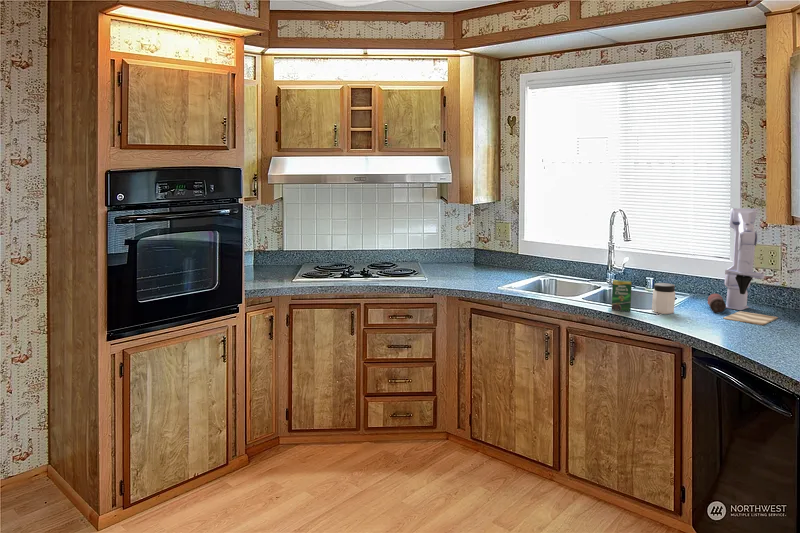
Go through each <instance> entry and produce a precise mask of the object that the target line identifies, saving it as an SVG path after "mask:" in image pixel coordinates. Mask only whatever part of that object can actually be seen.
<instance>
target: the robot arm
mask: <svg viewBox="0 0 800 533" xmlns="http://www.w3.org/2000/svg"><path fill="white" fill-rule="evenodd" d="M756 218H757V210H756V208H738V207H735V208H734V207H732V208H731V209H730V211H729V227H730V228H731V229H733V233H734V240H733V242H734V243H733V260H732V265H731V266H730V267H728V268H727V269H725V270H724V271H725V272H724V286H725V287H726V288H727V290H726V291H727V293H726V302H725V304H726V308H725V309H729V310H737V311H744V310H746V309H749V307H750V306H748V304H747V303H748V295H749V294H748V289H749V288H750V286H751V282H752V280H753V279H760V280H763V279H765V273H761V272H755V271H753V269H754V259H755V251H756V250H755V248H756V247H757V244H758V233H757V231H755V228H754V225H755V222H756Z"/></svg>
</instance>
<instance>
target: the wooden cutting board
mask: <svg viewBox="0 0 800 533" xmlns="http://www.w3.org/2000/svg"><path fill="white" fill-rule="evenodd" d="M778 318H779V317H778V316H773V315H766V314H761V313H754V312H749V311H744V310H738V311H737V312H734V313H732V314H729V315H726V316H723V319H724V320H728V321H729V320H730V321H734V322H739V321H740V322H739V323H745V322H746V323H745V324H752V325H757V326H764V325H767V324H768V323H771V322H773V321H775V320H778Z"/></svg>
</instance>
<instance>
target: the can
mask: <svg viewBox="0 0 800 533" xmlns="http://www.w3.org/2000/svg"><path fill="white" fill-rule="evenodd" d="M707 305H708V306H709V308H710V310H711V311H712V312H714V313H717V314H720V313H722V312H724V311H725V310H726V309H727V308H726V302H725V300H724V299H723V296H722V295H720V294H719V293H711V294H710V295H708V297H707Z"/></svg>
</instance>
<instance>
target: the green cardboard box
mask: <svg viewBox="0 0 800 533" xmlns="http://www.w3.org/2000/svg"><path fill="white" fill-rule="evenodd" d="M632 284H633V281H632V280H621V279H620V280H618V279H617V280H616V279H612V289H611V290H612V291H611V311H621V312H628V313H629V312H631V308H632V289H633V288H632Z"/></svg>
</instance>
